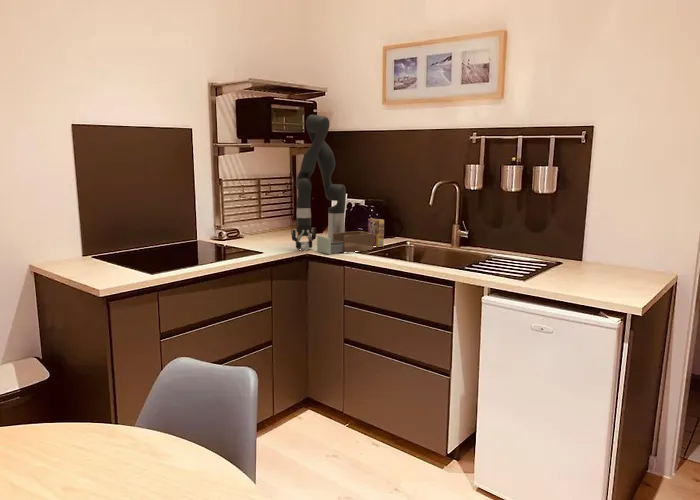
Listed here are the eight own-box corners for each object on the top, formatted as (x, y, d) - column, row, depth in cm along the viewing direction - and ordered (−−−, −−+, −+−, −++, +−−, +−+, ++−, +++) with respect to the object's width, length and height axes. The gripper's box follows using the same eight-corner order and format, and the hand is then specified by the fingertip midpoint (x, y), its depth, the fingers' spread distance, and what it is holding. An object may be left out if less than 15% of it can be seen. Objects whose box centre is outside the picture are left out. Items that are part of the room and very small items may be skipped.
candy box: (384, 247, 288) (384, 219, 286) (378, 248, 286) (378, 220, 283) (373, 245, 295) (373, 218, 293) (367, 246, 292) (367, 218, 290)
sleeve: (333, 250, 280) (333, 233, 278) (360, 247, 289) (360, 230, 287) (344, 253, 270) (344, 235, 269) (372, 250, 279) (372, 233, 277)
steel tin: (297, 249, 281) (297, 242, 280) (306, 248, 284) (306, 241, 283) (301, 251, 277) (301, 243, 276) (310, 250, 279) (310, 242, 279)
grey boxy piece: (317, 250, 276) (317, 235, 274) (344, 248, 284) (344, 233, 283) (329, 254, 265) (329, 238, 263) (357, 251, 273) (357, 236, 272)
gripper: (312, 215, 284) (312, 246, 287) (288, 216, 277) (288, 248, 279) (319, 216, 278) (319, 248, 280) (294, 218, 270) (294, 250, 273)
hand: (304, 248), depth 280 cm, fingers open, 6 cm apart
